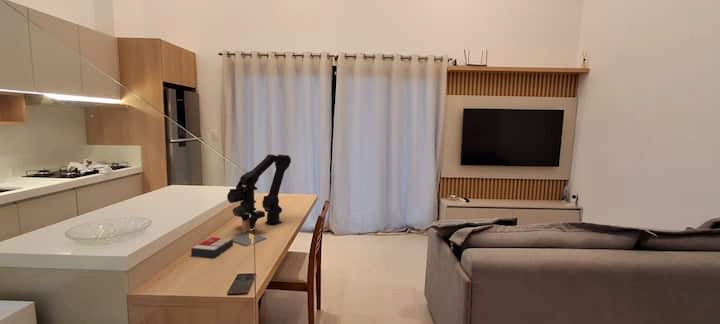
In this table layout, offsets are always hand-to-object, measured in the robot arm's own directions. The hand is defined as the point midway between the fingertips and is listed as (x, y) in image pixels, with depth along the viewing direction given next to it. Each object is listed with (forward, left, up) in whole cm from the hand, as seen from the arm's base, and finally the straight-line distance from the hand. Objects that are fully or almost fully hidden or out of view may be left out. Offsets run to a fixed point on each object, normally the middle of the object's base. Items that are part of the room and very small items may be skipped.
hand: (249, 228), depth 176 cm
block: (0, 0, -1) cm, 1 cm away
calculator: (+26, +8, -2) cm, 28 cm away
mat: (+9, +10, -1) cm, 14 cm away
